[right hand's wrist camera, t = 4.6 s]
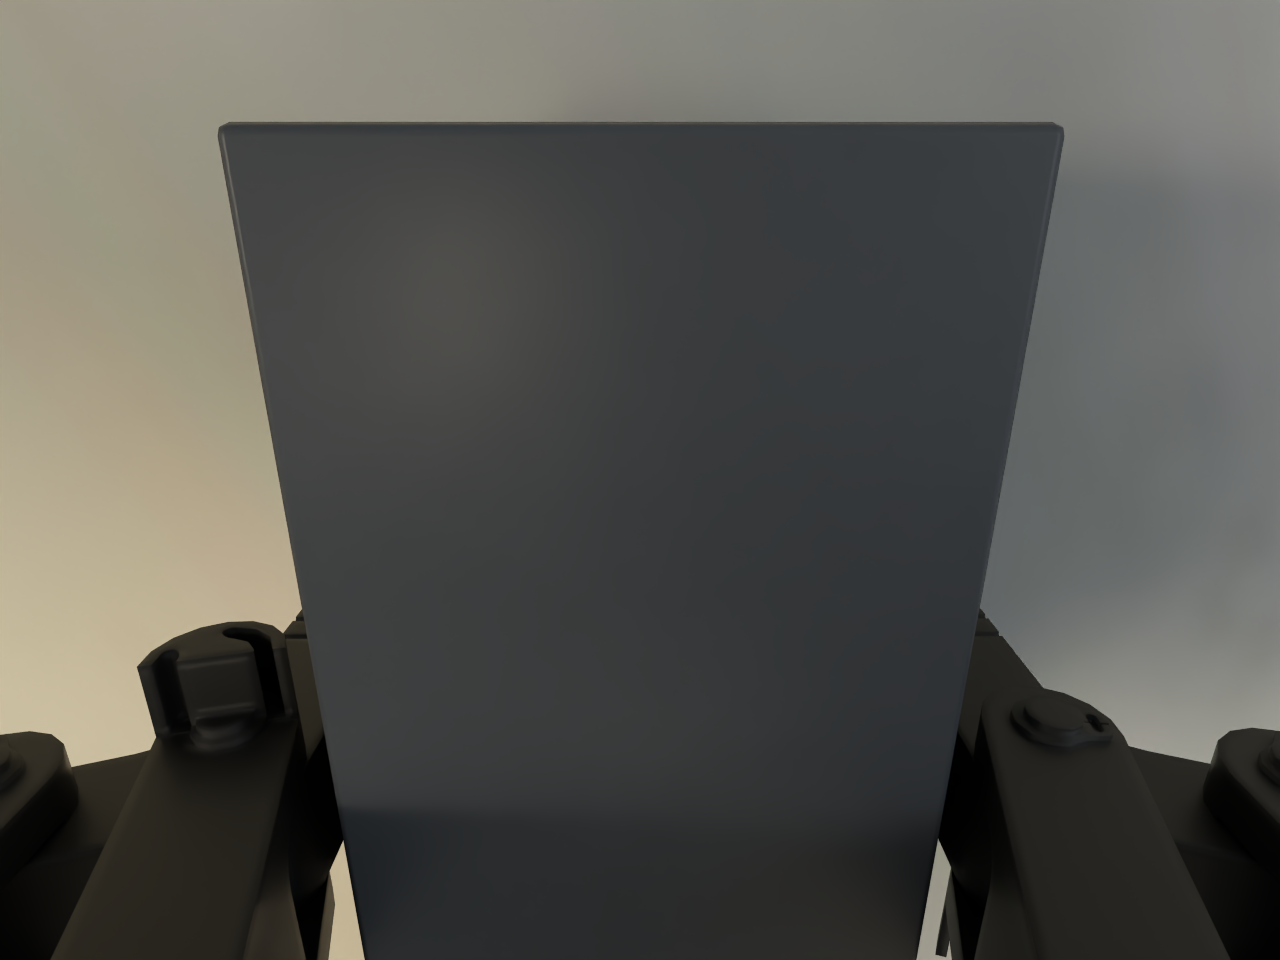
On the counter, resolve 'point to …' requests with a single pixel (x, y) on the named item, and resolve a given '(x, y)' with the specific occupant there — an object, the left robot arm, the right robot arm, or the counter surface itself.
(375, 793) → the beam
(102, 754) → the counter surface
